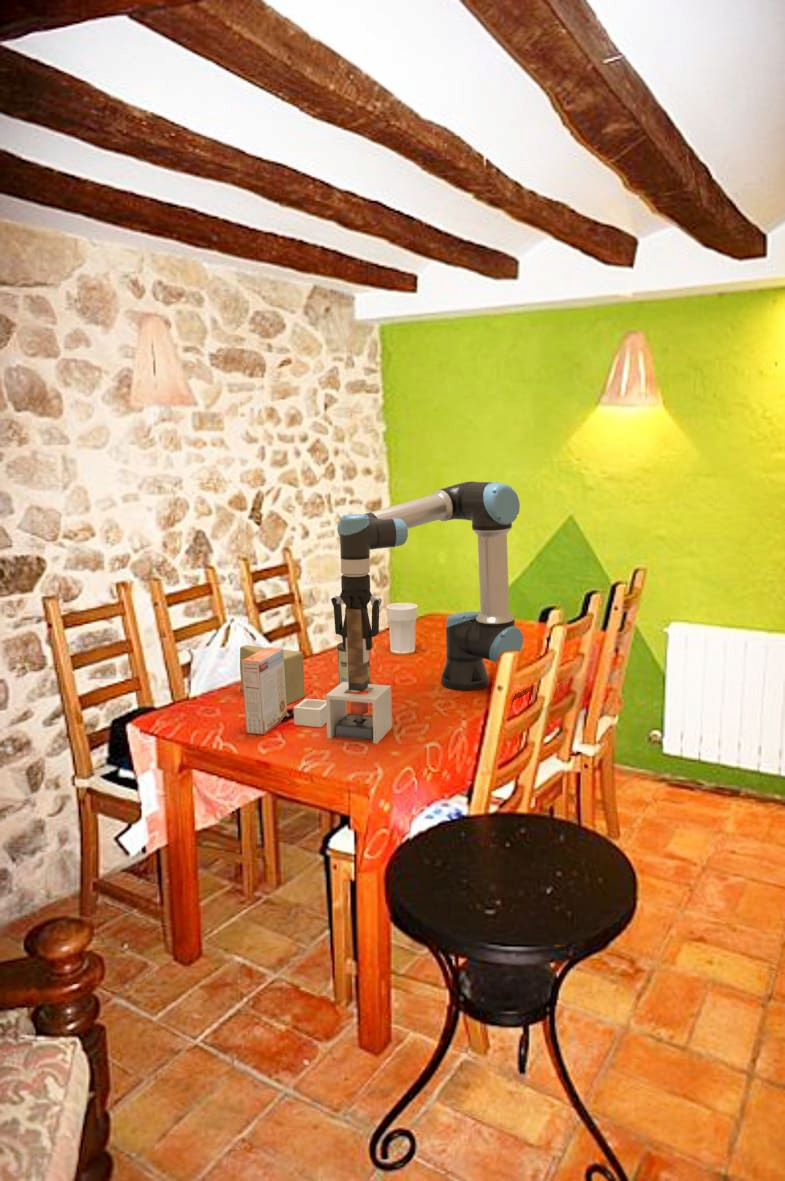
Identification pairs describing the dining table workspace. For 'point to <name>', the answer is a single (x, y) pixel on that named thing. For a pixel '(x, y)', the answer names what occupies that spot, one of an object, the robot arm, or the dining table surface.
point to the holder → (310, 713)
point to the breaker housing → (355, 727)
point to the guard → (376, 696)
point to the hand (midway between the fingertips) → (357, 660)
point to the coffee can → (346, 666)
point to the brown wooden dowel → (356, 651)
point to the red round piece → (359, 710)
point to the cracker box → (264, 690)
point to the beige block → (291, 668)
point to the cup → (402, 627)
